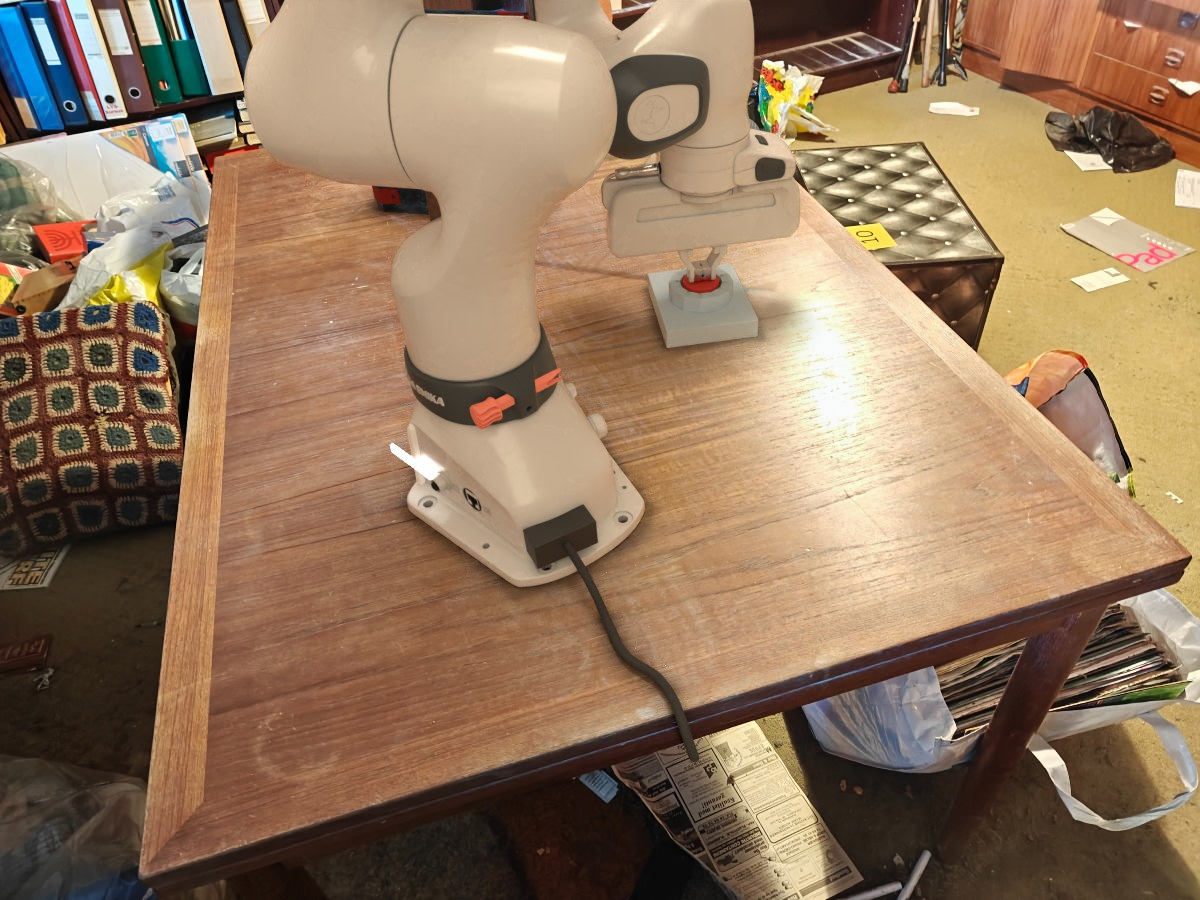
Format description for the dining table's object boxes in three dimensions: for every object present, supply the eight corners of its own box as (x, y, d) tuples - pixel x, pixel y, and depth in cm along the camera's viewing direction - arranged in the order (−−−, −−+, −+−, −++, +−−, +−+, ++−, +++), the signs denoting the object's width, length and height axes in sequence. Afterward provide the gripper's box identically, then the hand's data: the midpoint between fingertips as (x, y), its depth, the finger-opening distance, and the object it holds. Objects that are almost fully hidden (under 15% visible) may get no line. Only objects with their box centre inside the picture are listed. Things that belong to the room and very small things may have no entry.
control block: (757, 336, 93) (759, 305, 90) (666, 348, 92) (666, 317, 89) (730, 279, 102) (732, 249, 99) (647, 289, 101) (646, 259, 98)
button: (722, 301, 94) (723, 287, 93) (686, 305, 94) (686, 291, 92) (714, 282, 97) (714, 268, 96) (679, 286, 97) (679, 272, 95)
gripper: (604, 184, 82) (611, 306, 91) (812, 159, 83) (798, 282, 92) (595, 157, 86) (603, 275, 96) (792, 133, 88) (781, 253, 97)
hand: (700, 278), depth 94 cm, fingers closed, pressing on button
